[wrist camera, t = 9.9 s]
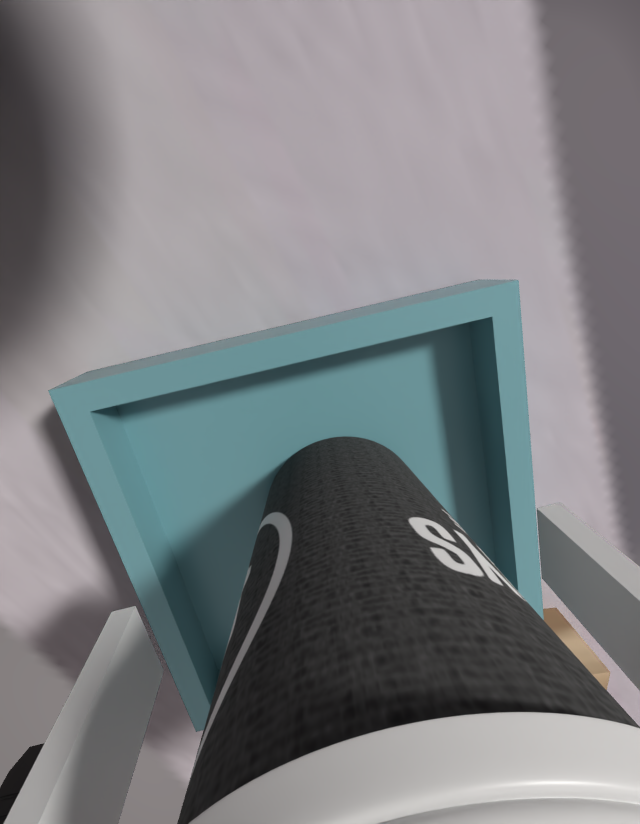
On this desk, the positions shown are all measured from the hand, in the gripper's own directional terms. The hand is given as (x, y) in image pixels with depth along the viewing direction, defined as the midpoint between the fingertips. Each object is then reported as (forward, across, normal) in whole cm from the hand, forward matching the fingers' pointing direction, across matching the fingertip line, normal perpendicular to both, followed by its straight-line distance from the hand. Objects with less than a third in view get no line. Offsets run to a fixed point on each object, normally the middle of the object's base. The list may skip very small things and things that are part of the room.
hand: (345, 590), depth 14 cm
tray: (+6, 0, 0) cm, 6 cm away
